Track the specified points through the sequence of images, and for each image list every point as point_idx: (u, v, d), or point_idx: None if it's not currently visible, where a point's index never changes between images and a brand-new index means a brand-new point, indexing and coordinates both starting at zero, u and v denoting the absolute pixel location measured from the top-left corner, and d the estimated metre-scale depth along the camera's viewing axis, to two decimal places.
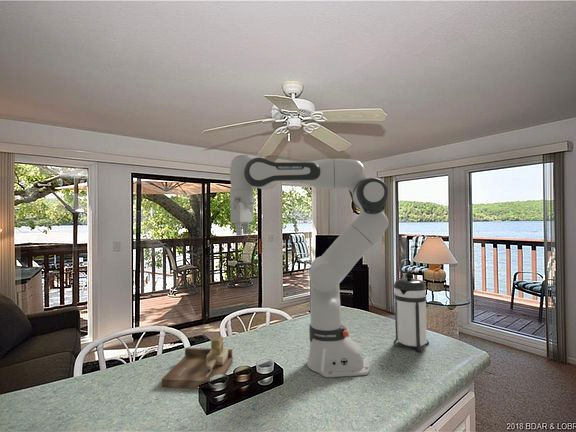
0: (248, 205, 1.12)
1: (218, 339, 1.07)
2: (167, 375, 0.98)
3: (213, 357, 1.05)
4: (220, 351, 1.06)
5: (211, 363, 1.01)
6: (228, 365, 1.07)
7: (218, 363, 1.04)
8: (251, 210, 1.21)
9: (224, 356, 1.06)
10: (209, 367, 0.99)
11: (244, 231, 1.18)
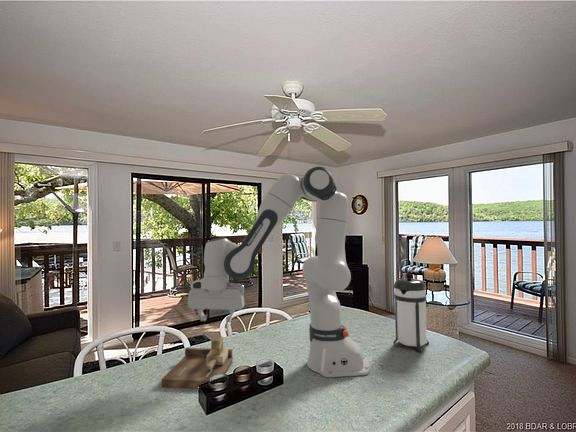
0: None
1: (218, 339, 1.07)
2: (167, 375, 0.98)
3: (213, 357, 1.05)
4: (220, 351, 1.06)
5: (211, 363, 1.01)
6: (228, 365, 1.07)
7: (218, 363, 1.04)
8: None
9: (224, 356, 1.06)
10: (209, 367, 0.99)
11: (205, 317, 1.08)
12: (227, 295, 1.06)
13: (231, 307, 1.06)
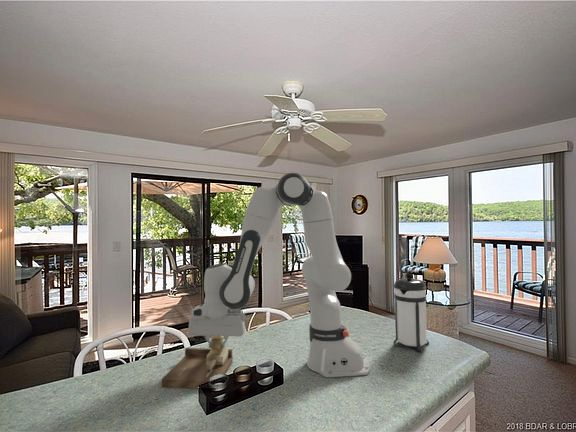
0: None
1: (218, 339, 1.07)
2: (167, 375, 0.98)
3: (213, 357, 1.05)
4: (220, 351, 1.06)
5: (211, 363, 1.01)
6: (228, 365, 1.07)
7: (218, 363, 1.04)
8: None
9: (224, 356, 1.06)
10: (209, 367, 0.99)
11: None
12: (228, 322, 1.06)
13: (232, 334, 1.05)
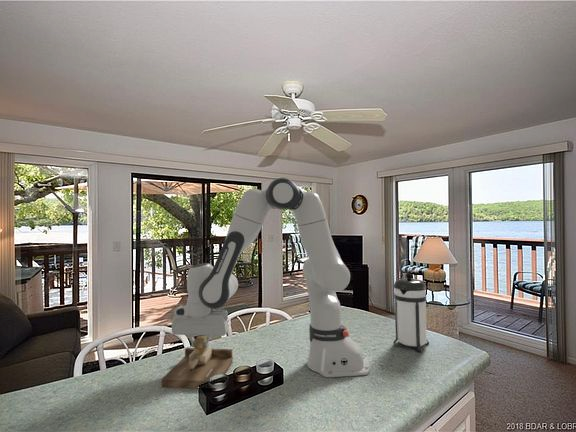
0: None
1: (201, 339, 1.08)
2: (167, 375, 0.98)
3: (195, 357, 1.05)
4: (203, 350, 1.07)
5: (193, 362, 1.02)
6: (228, 365, 1.07)
7: (201, 362, 1.05)
8: None
9: (207, 355, 1.07)
10: (191, 366, 1.00)
11: None
12: (210, 321, 1.06)
13: (215, 333, 1.06)
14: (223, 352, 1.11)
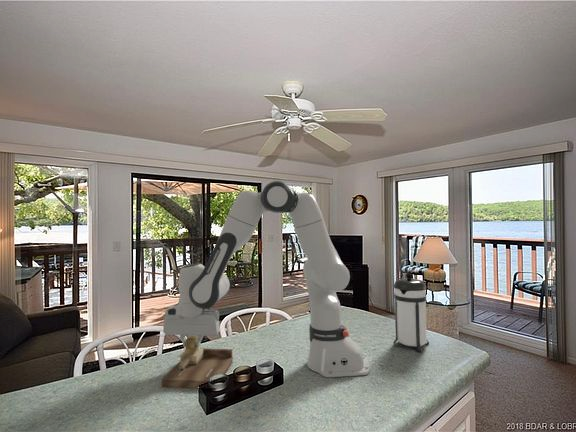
0: None
1: (192, 338, 1.08)
2: (167, 375, 0.98)
3: (187, 356, 1.06)
4: (194, 350, 1.07)
5: (184, 362, 1.02)
6: (228, 365, 1.07)
7: (192, 362, 1.05)
8: None
9: (198, 355, 1.07)
10: (181, 366, 1.00)
11: None
12: (202, 321, 1.07)
13: (206, 333, 1.06)
14: (223, 352, 1.11)
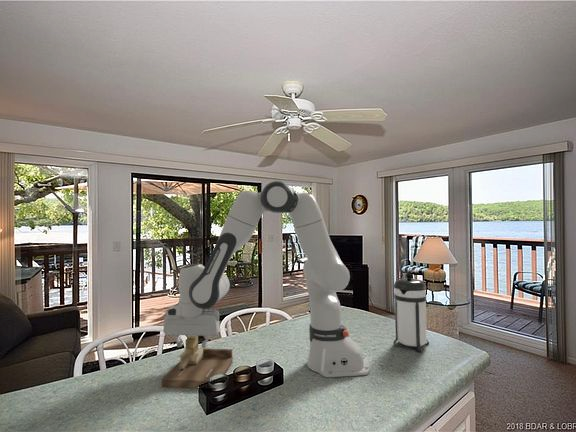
0: None
1: (192, 338, 1.08)
2: (167, 375, 0.98)
3: (187, 356, 1.06)
4: (194, 350, 1.07)
5: (184, 362, 1.02)
6: (228, 365, 1.07)
7: (192, 362, 1.05)
8: None
9: (198, 355, 1.07)
10: (181, 366, 1.00)
11: (181, 343, 1.09)
12: (202, 321, 1.07)
13: (206, 333, 1.06)
14: (223, 352, 1.11)
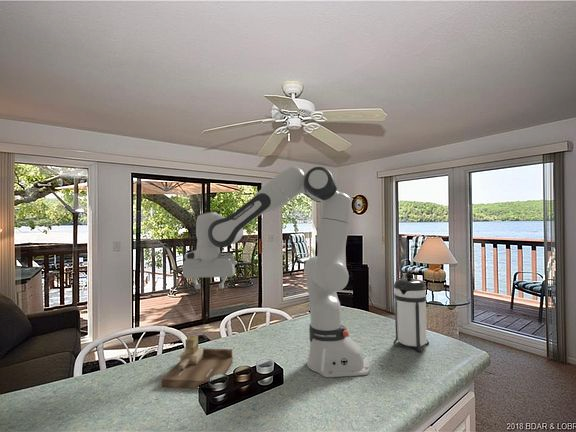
0: None
1: (192, 338, 1.08)
2: (167, 375, 0.98)
3: (187, 356, 1.06)
4: (194, 350, 1.07)
5: (184, 362, 1.02)
6: (228, 365, 1.07)
7: (192, 362, 1.05)
8: None
9: (198, 355, 1.07)
10: (181, 366, 1.00)
11: (199, 285, 1.18)
12: (219, 264, 1.16)
13: (223, 274, 1.15)
14: (223, 352, 1.11)
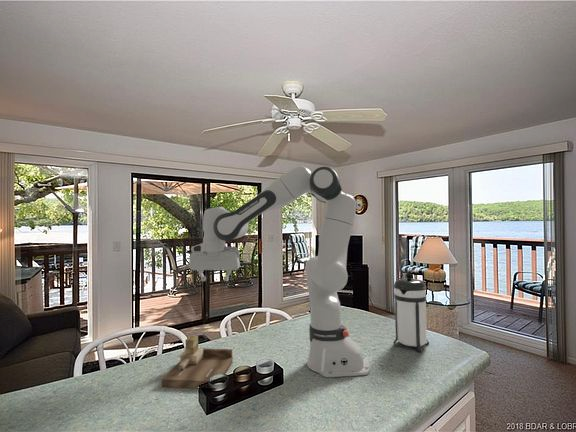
0: None
1: (192, 338, 1.08)
2: (167, 375, 0.98)
3: (187, 356, 1.06)
4: (194, 350, 1.07)
5: (184, 362, 1.02)
6: (228, 365, 1.07)
7: (192, 362, 1.05)
8: None
9: (198, 355, 1.07)
10: (181, 366, 1.00)
11: (205, 278, 1.21)
12: (224, 257, 1.19)
13: (228, 267, 1.18)
14: (223, 352, 1.11)
